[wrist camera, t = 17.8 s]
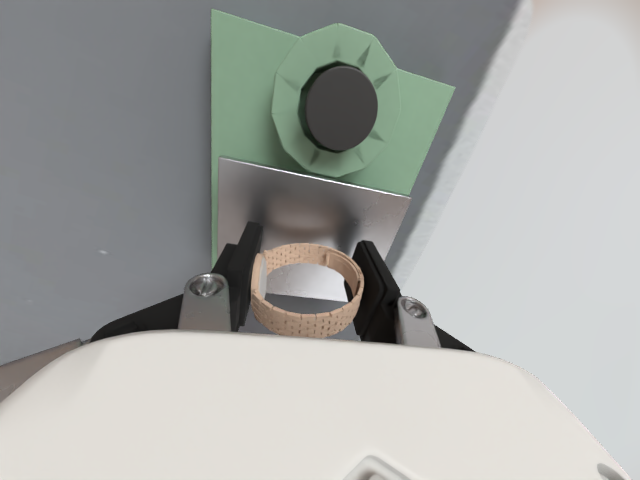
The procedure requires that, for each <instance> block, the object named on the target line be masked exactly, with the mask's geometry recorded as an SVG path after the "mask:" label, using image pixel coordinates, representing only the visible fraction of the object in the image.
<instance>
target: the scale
mask: <svg viewBox="0 0 640 480" xmlns="http://www.w3.org/2000/svg"><path fill="white" fill-rule="evenodd" d="M336 66H350V67H354V68H356V69H358V70H360V71H362V72H363V73H364V74H365V75H366V76H367V77H368V78H369V79H370V81H371V82H372V84H373V86H374V88H375V91H376V94H377V99H378V112H377V118H376V121H375V124H374V127H373V129H372V131H371V132H370V134H369V135H368V136H367V138H366V139H365V140H364V141H363V142H361V143H360V144H359V145H357V146H355V147H353V148H351V149H348V150H332V149H329V148H327V147H325V146H323V145H322V144H320V143H319V142H318V141H317V140H316V139H315V138H314V137H313V135H312V134H311V132H310V130H309V128H308V126H307V123H306V120H305V113H304V107H305V101H306V97H307V94H308V92H309V90H310V88H311V86H312V84H313V83H314V81H315V80H316V79H317V78H318V77H319V76H320V75H321V74H322V73H323V72H325V71H326V70H328V69H330V68H333V67H336ZM454 90H455V87H453V86H450V85H447V84H444V83H440V82H437V81H434V80H431V79H428V78H425V77H422V76H419V75H416V74H413V73H410V72H407V71H403V70H400V69H397V67H396V66H395V64H394V63H393V61H392V60H391V59H390V57H389V56H388V54H387V53H386V51H385V50H384V48H383V47H382V45H381V44H380V43H379V41H378V40H377V38H376V37H375V36H374V35H373V34H370V33H367V32H364V31H361V30H358V29H355V28H352V27H350V26H347V25H344V24H341V23H337V24H336V23H334V24H332V25H329V26H326V27H324V28H321V29H319V30H316V31H313V32H311V33H308V34H306V35H303V36H301V37H299V36H296V35H292V34H289V33H286V32H283V31H280V30H277V29H274V28H271V27H268V26H265V25H262V24H259V23H255V22H252V21H249V20H246V19H243V18H240V17H237V16H234V15H231V14H228V13H225V12H222V11H218V10H215V9H211V197H212V269H213V268H214V266H215V264H216V262H217V234H218V158H219V157H220V156H221V155H225V156H230V157H234V158H239V159H244V160H248V161H253V162H258V163H262V164H267V165H272V166H277V167H281V168H286V169H291V170H295V171H300V172H305V173H309V174H314V175H319V176H323V177H328V178H333V179H337V180H342V181H347V182H351V183H356V184H361V185H366V186H370V187H375V188H380V189H384V190H389V191H394V192H398V193H403V194H408V195H409V193H410V191H411V189H412V187H413V184H414V182H415V180H416V177H417V175H418V173H419V170H420V168H421V166H422V163H423V161H424V159H425V157H426V154H427V152H428V150H429V147H430V145H431V143H432V140H433V138H434V136H435V133H436V131H437V129H438V127H439V124H440V122H441V120H442V117H443V115H444V113H445V110H446V108H447V106H448V104H449V101H450V99H451V97H452V94H453V92H454Z"/></svg>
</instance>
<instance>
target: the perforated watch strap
mask: <svg viewBox="0 0 640 480" xmlns="http://www.w3.org/2000/svg"><path fill="white" fill-rule="evenodd" d="M309 245H310V246H309ZM304 247H305V249H304ZM299 250H300V251H299ZM309 250H310V252H309ZM323 255H324V256H323ZM313 259H314V260H313ZM308 261H309V263H310V264H317V263H318V265H322V266H325V267H326V265H327V267H328V268H330V269H333V270H335V271H336V272H338V273H340V274H341V275H342V276H343V278H344V279H345V280H346V281H347V283H348V284H349V286H350V287H351V290H352V293H353V297H354V298H353V300H352V301H351V302H349V303H348V304H346V305H345V306H343V307H342V309H341V308H339V309H336V310H334V311H331V312H326V313H319V314H316V316H315V314H297V313H292V312H287V311H285V310H282V309H280V308H277V307H275V306H274V307H273V305H271V304H270V303H268V302H267V301H265V300H264V299H265V293H266V280H267V275H268V274H269V273H270V272H271V271H272V269H273V270H274V269H277V268H279V267H281V266H284V265H288V264H294V263H308ZM363 289H364V276H363V274H362V271H361V269H360V267H359V266H358V265H357V264H356V263H355V261H353V260H352V259H351V258H350V257H349V256H348V255H347V256H346V254H344V253H342V252H340V251H338V250H336V249H334V248H331V247H330V248H329V247H328V246H323V245H320V247H319V244H309V243H300V244H299V243H294V244H290V245H289V244H287V245H282V246H281V247H280V246H279V247H276V248H273V249H271V250H268V251H266V250H264V251H263V254H262V253H257V255H256V257H255V261H254V265H253V271H252V279H251V306H252V310H253V312H255V313H254V315H255V318H256V320H258V321H259V322H260V323H263V325H264V326H265V327H266V328H268V329H269V330H271V331H273V332H275V333H277V334H279V335H285V336H299V337H312V338H324V337H327V336H331V335H334V334H336V333H338V331H342V330H343V329H344V328H345V327H346V326H347V325H348V324H349V325H350V323H351V322H352V320H353V319H354V317H355V316H356V313H357V311H358V308H359V305H360V300H361V296H362V292H363ZM300 316H301V317H300ZM307 320H308V321H307ZM300 323H301V324H300ZM285 327H286V328H285Z"/></svg>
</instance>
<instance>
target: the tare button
mask: <svg viewBox="0 0 640 480" xmlns="http://www.w3.org/2000/svg"><path fill="white" fill-rule="evenodd" d="M377 112H378V99H377V94H376V91H375V88H374V86H373V84H372V82H371V81H370V79H369V78H368V77H367V76H366V75H365V74H364V73H363V72H362V71H360V70H358V69H356V68H354V67H350V66H336V67H333V68H330V69H328V70H326V71H325V72H323V73H322V74H321V75H320V76H319V77H318V78H317V79H316V80H315V81H314V83H313V84H312V86H311V88H310V90H309V92H308V94H307V97H306V101H305V107H304V113H305V120H306V123H307V126H308V128H309V130H310V132H311V134H312V135H313V137H314V138H315V139H316V140H317V141H318V142H319V143H320V144H322V145H323V146H325V147H327V148H329V149H332V150H348V149H351V148H353V147H355V146H357V145H359V144H360V143H361V142H363V141H364V140H365V139H366V138H367V136H368V135H369V134H370V132H371V131H372V129H373V127H374V124H375V121H376V118H377Z"/></svg>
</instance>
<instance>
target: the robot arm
mask: <svg viewBox="0 0 640 480" xmlns="http://www.w3.org/2000/svg"><path fill="white" fill-rule="evenodd" d="M262 232H263V226H259V223H258V222H252V221H248V222H247V224H246V227H245V229H244V231H243V233H242V236H241V238H240V240H239V242H238V244H231V243H227V244H226V245H225V247H224V249H223V251H222V253H221V254H220V256H219V258H218V260H217V262H216V264H215V266H214V268H213V269H212V271H211V273H204V274H199V275H196V276H194V277H193V278H191V279H190V280H189V281H188V282H187V283H186V285H185V288H184V294H181V295H179V296H176V297H174V298H171V299H168V300H166V301H163V302H161V303H158V304H156V305H153V306H151V307H148V308H145V309H143V310H140V311H138V312H135V313H133V314H130V315H127V316H125V317H122V318H120V319H117V320H115V321H113V322H111V323H109V324H107V325H105V326H104V327H102V328H101V329H99V330H98V331H97V332H96V333H95V334H94V335H93V337H92V338H91V339H88V340H86V341H83V342H81V340H80V338H79V339H76V340H73V341H71V342H68V343H65V344H62V345H59V346H56V347H53V348H50V349H47V350H44V351H41V352H39V353H36V354H33V355H30V356H27V357H24V358H21V359H18V360H15V361H12V362H9V363H7V364H4V365H1V366H0V480H632V479H631V478H630V477H629V476H628V475H627V473H626V472H625V471H624V470H623V469H622V468H621V466H620V465H619V464H618V463H617V462H616V461H615V460H614V459H613V458H612V457H611V455H610V454H609V453H608V452H607V451H606V450H605V449H604V447H603V446H602V445H601V444H600V443H599V442H598V441H597V440H596V438H595V437H594V436H593V435H592V434H591V433H590V432H589V431H588V430H587V429H586V427H585V426H584V425H583V424H582V423H581V422H580V421H579V420H578V419H577V418H576V416H575V415H574V414H573V413H572V412H571V411H570V410H569V409H568V408H567V407H566V406H565V405H564V404H563V403H562V402H561V401H560V399H558V397H557V396H556V395H555V394H554V393H553V392H552V391H550V389H549V388H547V387H546V386H545V385H544V384H543V383H542V382H541V381H540V380H539V379H538V378H537V377H535V376H534V375H532V374H531V373H529V372H528V371H526V370H524V369H522V368H520V367H518V366H516V365H514V364H512V363H510V362H507V361H505V360H502V359H500V358H496V357H493V356H490V355H486V354H482V353H477V352H475V351H474V350H472V349H470V348H469V347H468V346H466V345H465V344H463V343H462V342H460V341H459V340H457V339H455V338H454V337H452V336H451V335H449V334H448V333H446V332H445V331H443V330H442V329H440V328H438V327H437V326H435V325H434V324H433V321H432V318H431V315H430V312H429V310H428V309H427V308H426V306H425V305H424V304H422V303H421V302H420V301H418V300H416V299H414V298H412V297H408V296H402V295H401V293H400V289H399V287H398V285H397V284H396V282H395V280H394V278H393V277H392V275H391V273H390V271H389V270H388V268H387V266H386V264H385V262H384V261H383V259H382V257H381V255H380V254H379V252H378V250H377V248H376V247H375V245H374V243H373V242H372V241H367V240H361V242H358V243H357V245H356V248H355V251H354V253H353V256H352V260H353V261H355V263H356V264H357V265H358V266H359V267H360V269H361V271H362V274H363V276H364V289H363V292H362V296H361V300H360V305H359V308H358V311H357V313H356V316H355V317H354V319H353V322H354V326H355V330H356V334H357V335H360V339H361V341H352V340H339V339H326V338H312V337H299V336H284V335H270V334H256V333H242V332H238V330H239V326H244V325H245V321H246V317H247V313H248V309H249V305H250V301H251V279H252V271H253V265H254V261H255V257H256V255H257V253H260V249H261V241H262ZM344 288H345V292H346V295H347V299H348V303H349V302H351V301H352V300H353V298H354V297H353V293H352V290H351V287H350V286H349V284H348V283H347V281H346V280H345V279H344Z"/></svg>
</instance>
